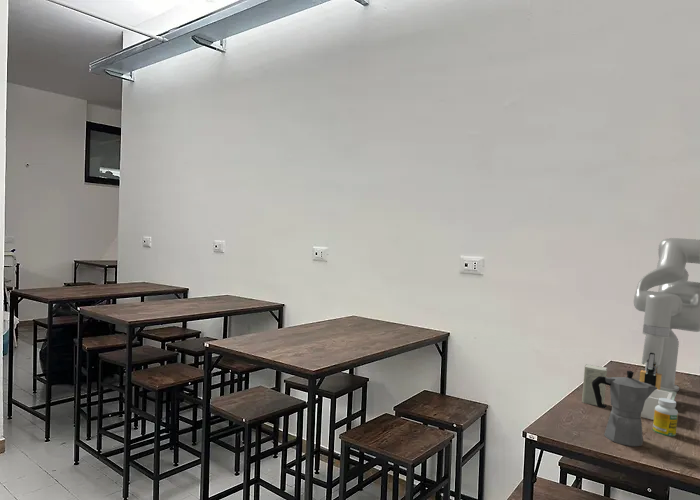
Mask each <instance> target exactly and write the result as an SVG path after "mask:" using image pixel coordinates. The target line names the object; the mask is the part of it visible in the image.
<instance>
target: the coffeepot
mask: <svg viewBox="0 0 700 500" xmlns="http://www.w3.org/2000/svg"><path fill="white" fill-rule="evenodd" d="M634 373H635V372H634V371H633V370H632V371H631V370H627V371H626V376H627V377H626V376H624V377H623V376H619V377H618V376H611V377H608V376H606V377H602V376H598V377H597V378H596V379H595V380H593V382H592V387H593V390H594V395H595V398H596V402H597V406H596V407H598V408H601V409H606V408H607V406H608V405H607V404H605V403H604V404H602V397H601V395H600V387H599V384H600V383H602V384H605V385H607V386H609V394H610V405H611V411H610V414H609V417H608V421H607V424H606V427H605V431H604V434H603V435H604V437H605V438H607V440H609V441H611V442H614V443H616V444H620V445H622V446H627V447H641V446H643V442H644V437H643V436H644V435H643V424H642V417H641V412H642V410H643V407H644V403H645V400H646V399H647V398H648V397H649V396H650V394H651V393H652V392H653V391H654V390H656V389H657V387H655V386H653V385H651V384H647V383H644V382H641V381H639V379H636V378H633V376H634Z"/></svg>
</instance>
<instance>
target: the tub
mask: <svg viewBox="0 0 700 500" xmlns="http://www.w3.org/2000/svg"><path fill="white" fill-rule="evenodd" d="M659 398H667V399H671V400H672V393H671V392H667V391H662V390H658V389H656V390H654V391H653V392H652V393H651V394H650V396H649V397H648V398H647V399H646V400H645V403H644V407H643V410H642V412H641V418H644V419H649V420H652V421H654V412H655V407H656V406H657V405H659V403H658V401H659Z"/></svg>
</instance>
